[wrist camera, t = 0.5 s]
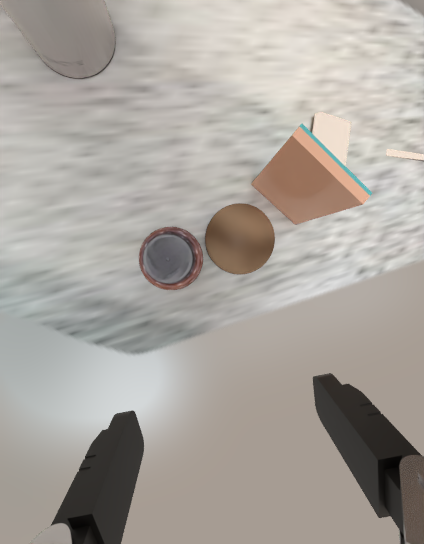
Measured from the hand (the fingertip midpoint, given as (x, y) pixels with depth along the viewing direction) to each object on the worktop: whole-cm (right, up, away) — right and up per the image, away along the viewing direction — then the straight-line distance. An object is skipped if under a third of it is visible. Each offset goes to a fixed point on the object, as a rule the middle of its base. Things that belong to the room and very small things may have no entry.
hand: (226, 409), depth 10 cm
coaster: (+3, +10, +20) cm, 23 cm away
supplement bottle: (-5, +8, +19) cm, 22 cm away
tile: (+8, +15, +20) cm, 26 cm away
